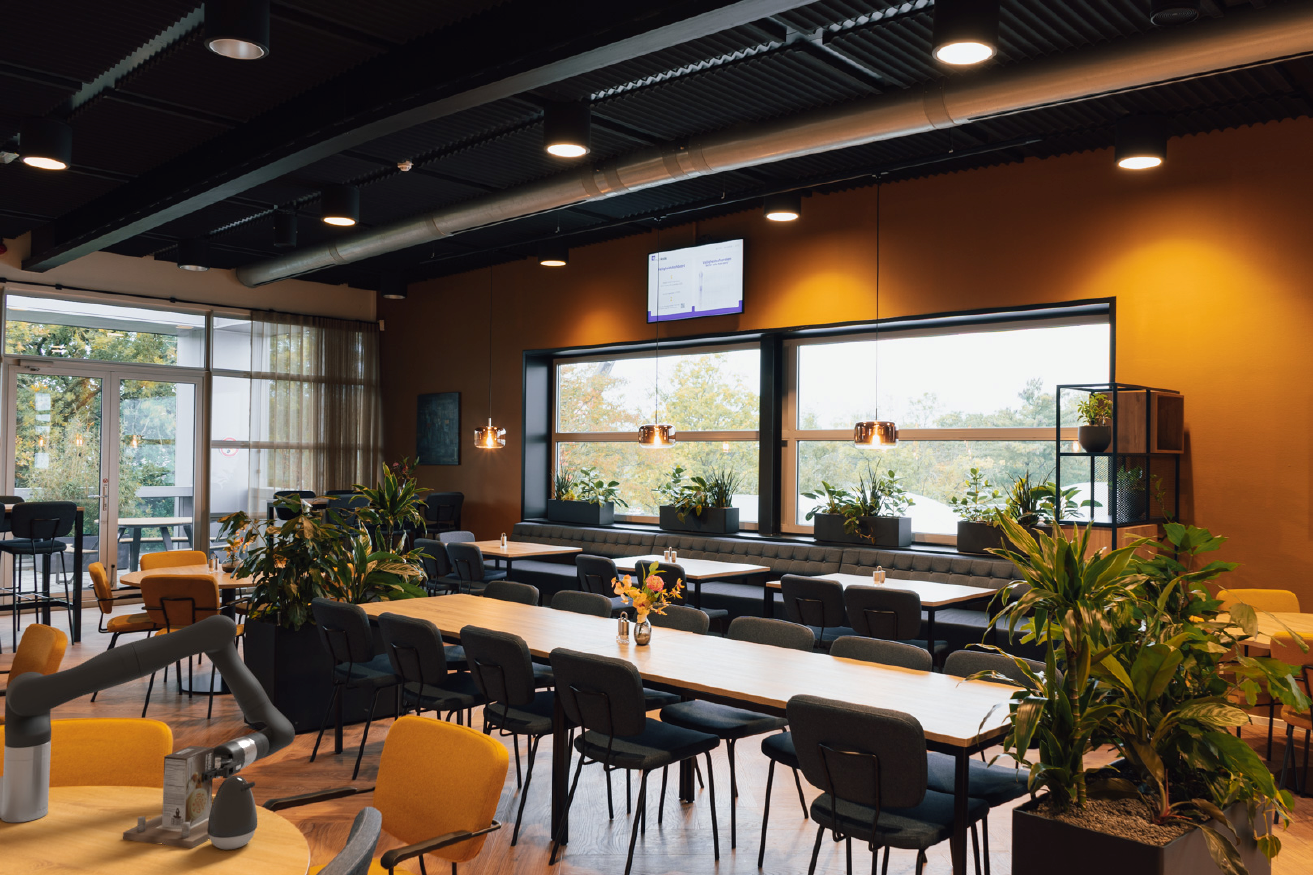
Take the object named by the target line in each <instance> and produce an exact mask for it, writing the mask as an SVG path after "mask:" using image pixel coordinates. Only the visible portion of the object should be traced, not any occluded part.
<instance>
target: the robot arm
mask: <svg viewBox="0 0 1313 875" xmlns="http://www.w3.org/2000/svg"><path fill="white" fill-rule="evenodd" d="M237 634H238V627H237V624H236V622H235V621H234V620H233V619H232V617H229V616H227V615H224V614H214V615H210V616H208V617H206V618H204V619H202V620H200V621H197V622H195V623H192V624H191V625H187V626H186V627H183V628H181V629H177V630H175V631H171V632H167V633H161V634H158V635H154V636H150V637H146V638H141V639H139V640H135V641H131V642H129V643H125V644H121V645H119V646H115V647H113V648H110V649H107V650H106V651H103V652H101V653H99V654H97V655H95V656H93V657H91V658H89V659H88V660H86V661H85V662H82V663H80V664H78V665H76V666H74V667H71V668H68V669H66V670H62V671H57V672H55V673H54V672H53V673H50V674H46V675H44V674H43V673H40V672H36V671H28V672H22V673H20V674H19V675H17V676H15V677H14V678H13V679H12V680H11V681H10V682H9V684H8V686H7V688H6V691H5V700H4V702H5V703H4V704H5V705H4V729H3V730H4V755H3V758H4V759H3V775H1V776H0V819H1V821H2V822H6V823H24V822H29V821H34V820H37V819H41V818H43V817H45V816H46V815H48V813H49V795H50V775H51V774H50V771H51V770H50V769H51V751H52V750H51V745H52V721H51V720H52V719H51V710H53V709H54V708H57V707H59V706H61V705H64V704H67V703H69V702H70V701H73V700H75V699H78V698H80V697H83V696H86V695H90V694H95V693H98V692H101V691H105V690H107V689H111V688H113V687H116V686H121V685H124V684H127V683H130V682H132V681H136V680H138V679H141V678H144V677H147V676H149V675H151V674H155V672H158V671H160V670H162V669H164V668H166V667H168V666H170V665H172V664H175V663H176V662H178V661H181V660H183V659H186V658H188V657H192V656H196V655H199V654H203V653H204V655H206V657H207V659H209V661H210V662H211V663H212V664H213V665H214V667H215V668H216V670H217V671H218V672H219V674H220V675H221V677H222V678H223V680H224V682H225V683H226V685H227V687H228V688H229V691H230V692H231V694H232V696H233V698H234V700H235V702H236V703H237V705H238V707H239V709H240V711H241V712H242V714H243V715H244V717H245V719H246V721H247V722H248V723H250V724H256V723H260V722H262V723H263V724H265V725H266V727H264V728H263V729H261V730H259V731H257V732H252V733H248V734H246V735H243V736H240V737H236V738H234V739H231V740H229V741H225V742H223V743H221V744H219V745H216V746H215V747H213V768H212V769H210V770H207V771H205V772H203V773H202V775H201V782H207V781H209V780H211V779H220V778H222V779H227V778H228V777H230V776H234V775H236V774H238V773H240V772H241V770H242V769H244V768H247V767H248V766H249V765H251V764H253V763H256V762H258V761H260V760H262V759H266V758H267V757H270V756H272V755H274V754H275V753H277V752H279V751H281V750H283V749H284V748H287V747H288V746H290V745H291V744H293V742H294V741H295V737H296V733H295V732H296V731H295V728H294V725H293V724H292V723H291V722H290V720H289V719H288V718H287V717H286V716H285V715H284V714H283V713H282V712H280V711H279V710H278V708H277V707H276V706H274V705H273V703H272V702H271V700H270V698H269V696H268V695H267V693H266V691H265V689H264V688H263V686H262V684H261V683H260V681H259V680H258V678H256V677H255V675H254V673H252V671H251V670H250V669H249V668H248V667H247V665H246V664H245V662H244V661H243V660H242V658H241V656H240V654H239V652H238V649H237V647H236V645H235V642H234V641H235V639H236V637H237Z"/></svg>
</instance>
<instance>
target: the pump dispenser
mask: <svg viewBox="0 0 1313 875" xmlns="http://www.w3.org/2000/svg"><path fill="white" fill-rule="evenodd" d="M255 786H256V781H251V782H248V781H247V780H246V778H245V777H242V776H241V775H236V774H234V775H232V776H230V777H228V778H224V780H223V781H222V782H221V784H220V785H219V787H218V789H217V791H216V793H215V796H214V799H213V800H212V807H211V810H210V815H209V820H208V826H207V833H208V834H209V838H210V839H209V840H210V842H211V844H212V845H213V846H215V847H216V848H218V849H220V850H227V851H228V850H229V849H230V850H236V849H239V848H241V847H243V846H245V845H247V844H248V843H249V842H250V841H251V840H252V839H253V837H254V834H255V833H256V829H257V828H258V814H257V807H256V801H255V797H254V795H253V792H252V788H254V787H255ZM230 850H229V851H230Z"/></svg>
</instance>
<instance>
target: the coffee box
mask: <svg viewBox="0 0 1313 875" xmlns="http://www.w3.org/2000/svg"><path fill="white" fill-rule="evenodd" d="M213 748H214V747H213V746H212V747H211V746H199V745H189V746H187V747H184V748H182V749H179V750H177V751H175V752H172V753H170V754H167V755H165V756H163V758H164V759H163V785H162V786H163V787H162V788H163V789H162V792H163V793H162V814H163V816H162V826H163V827H169V828H178V829H182V823H184V822H190V827H191V826H193V825H194V824H196V823H198V822H200V821H202V820H204V819H206V818H208V817H209V815H210V810H211V807H212V804H213V779H211V780H209V781H207V782H201V775H202V773H203V772H205V771H207V770H210V769H212V768H213Z"/></svg>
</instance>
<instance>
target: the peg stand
mask: <svg viewBox="0 0 1313 875" xmlns="http://www.w3.org/2000/svg"><path fill="white" fill-rule="evenodd" d="M162 816H163V813H161V814H159V815H157V816H155V817H153V818H150V819H148V820H147V821H146V818H147V817H146V816H138V817H137V822H136V823H137V825H136V826H134V827H131V828H130V829H128V830H125V831H123V833H122V839H123V840H127V841H133V842H134V841H135V842H142V843H148V844H149V843H151V844H156V843H162V844H161V845H163V844H165V845H166V846H173V847H180V848H186V847H188V848H187V849H194V848H196V847H198V846H199V845H202V844H204V843H205V842H208V841H209V840H210V838H209V834H208V833H207V826H208V820H209V817H208V818H206V819H204V820H202V821H200V822H198V823H196V824H194V825H193V826H191V827H190V822H184V823H182V829H178V828H169V827H163V826H162ZM208 839H209V840H208ZM165 845H164V846H165Z"/></svg>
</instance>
